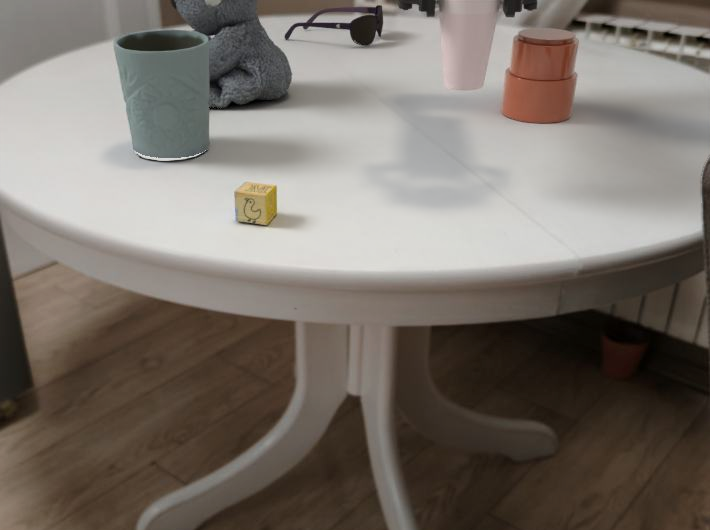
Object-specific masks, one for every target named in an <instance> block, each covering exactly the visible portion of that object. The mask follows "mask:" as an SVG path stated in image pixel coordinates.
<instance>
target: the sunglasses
mask: <svg viewBox="0 0 710 530" xmlns="http://www.w3.org/2000/svg"><path fill="white" fill-rule="evenodd" d="M335 12H336V13H338V12H339V13H359V14H360V13H361V14H364V15H360V16H358V17H356V18H354V19H352V20H351V21H350V22H314V21H315V20H316V19H317V18H318V17H319V16H321V15H323V14H326V13H335ZM299 27H302V29H303V30H308V29H309V28H322V29H331V30H346V31H349V35H350V38H351V40H352V42H353V43H355V44H356V45H358V46H361V47H363V46H364V47H366V46H370V45H371V44H372V43H373V42H374V40H375V38H376V34H377V36H378V37H379V38H381V37H382V32H383V27H384V14H383V6H382V5H381V4H380V5H378V4H377V5H376V6H346V7H331V8H330V7H329V8H324V9H321V10H319V11H317V12H315V13H314V14H313V15H312V16H311V17H309V18H308V20H307V21H305V22H295V23H294V24H292V25H291V26H290V28H288V30H287V31H286V32H285V34H284V39H285V40H286V41H288V40H289V39H290V37H291V35H292V34H293V32H294V30H295V29H296V28H299Z"/></svg>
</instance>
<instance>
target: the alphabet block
mask: <svg viewBox="0 0 710 530" xmlns="http://www.w3.org/2000/svg"><path fill="white" fill-rule="evenodd" d="M233 193H234V195H233V197H234V213H235V215H234V216H235V221H236V222H241V223H247V224H256V225H261V226H268V225H269V224H270V223H271V222H272V221H273V220H274V218H275V217H276V216H277V215H276V214H278V187H277V185H276V184H270V183H269V184H267V183H259V182H251V181H245V182H244V183H242V184H241V185H240V186H239V187H237V189H236V190H234V192H233ZM275 215H276V216H275ZM274 216H275V217H274ZM273 217H274V218H273Z"/></svg>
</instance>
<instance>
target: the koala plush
mask: <svg viewBox="0 0 710 530" xmlns="http://www.w3.org/2000/svg"><path fill="white" fill-rule="evenodd" d="M169 1H170V4H171V6H172V8H173V9H174V10H176V11H177V12H178V13H179V15H180V16H181V18H182V19H183V20H184V22H185V23H187V25H188V26H189V27H190V28H191V29H192V30H190V31H195V32H199V33H202V34H204V35H206V36H207V37H208V39H209V100H208V104H209V107H210V108H211V107H212V108H213V109H215V108H214V107H217V108H218V107H223V108H227V107H228V106H229V105H230V104H231V103H232V102H233V103H235V104H236V105H239V106H243V105H245V104H249V103H250V102H253V101H255V100H259V101H267V100H271V101H272V100H276V99H279V98H281V97H282V96H283V95H284V94H286V93H287V92H288V90H289V88H290V86H291V84H292V79H293V72H292V67H291V66H290V61H289V59H288V56H287V55H286V53H285V52H284V51H283V50H282V48H280V47H279V46H278V45H276V44H275V43H274V41H273V40H272V39H271V38H270V36H269V35H268V32H267V31H266V29H265V27H264V26H263V25H262V22H261V21H260V17H259V15H258V14H257V9H258V8H257V7H258V0H169ZM212 36H213V37H212ZM242 104H243V105H242ZM218 109H219V108H218Z"/></svg>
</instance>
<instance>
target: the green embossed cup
mask: <svg viewBox="0 0 710 530" xmlns="http://www.w3.org/2000/svg"><path fill="white" fill-rule="evenodd" d="M112 46H113V51H114V56H115V61H116V65H117V69H118V76H119V81H120V86H121V93H122V96H123V101H124V103H125V112H126V117H127V121H128V127H129V131H130V136H131V142H132V143H131V145H132V149H133V151H134V150H135V151H136V152H138V153H140V154H142V155H145V156H150V157H156V158H157V157H158V158H181V157H189V156H194V155H196V154H199V153H202V152H204V151H205V150H207V149H208V147H209V148H210V108H209V104H208V100H209V39H208V37H207V36H206V35H204V34H202V33H199V32H197V31H196V32H195V31H191V30H188V29H187V30H186V29H172V28H171V29H169V28H168V29H166V28H164V29H162V28H161V29H147V30H139V31H133V32H129V33H124V34H122V35H119V36H117V37H116V38H115V39H114V40H113V42H112ZM208 150H209V149H208Z"/></svg>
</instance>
